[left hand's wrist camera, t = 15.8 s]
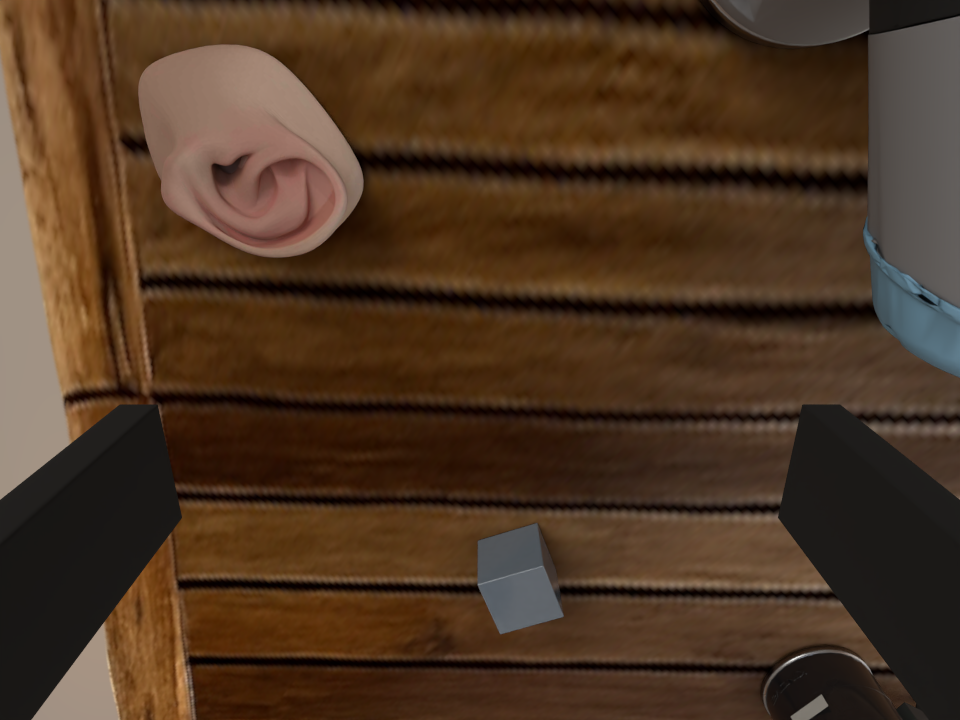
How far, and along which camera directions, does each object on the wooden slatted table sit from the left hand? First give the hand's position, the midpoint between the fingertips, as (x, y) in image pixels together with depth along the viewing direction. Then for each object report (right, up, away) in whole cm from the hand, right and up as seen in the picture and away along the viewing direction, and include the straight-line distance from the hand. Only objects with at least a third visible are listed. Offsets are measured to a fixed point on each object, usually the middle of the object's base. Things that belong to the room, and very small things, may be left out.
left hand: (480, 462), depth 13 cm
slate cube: (+3, -14, +36) cm, 39 cm away
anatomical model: (-14, +15, +25) cm, 32 cm away
